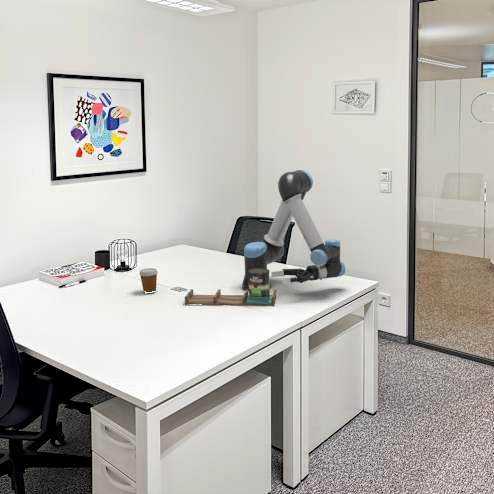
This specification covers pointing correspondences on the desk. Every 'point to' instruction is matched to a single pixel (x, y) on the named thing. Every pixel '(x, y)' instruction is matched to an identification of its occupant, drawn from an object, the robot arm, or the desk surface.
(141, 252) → the desk surface
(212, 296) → the slot rack
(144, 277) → the disposable coffee cup
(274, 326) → the desk surface
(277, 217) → the robot arm
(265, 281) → the coffee can
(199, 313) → the desk surface
